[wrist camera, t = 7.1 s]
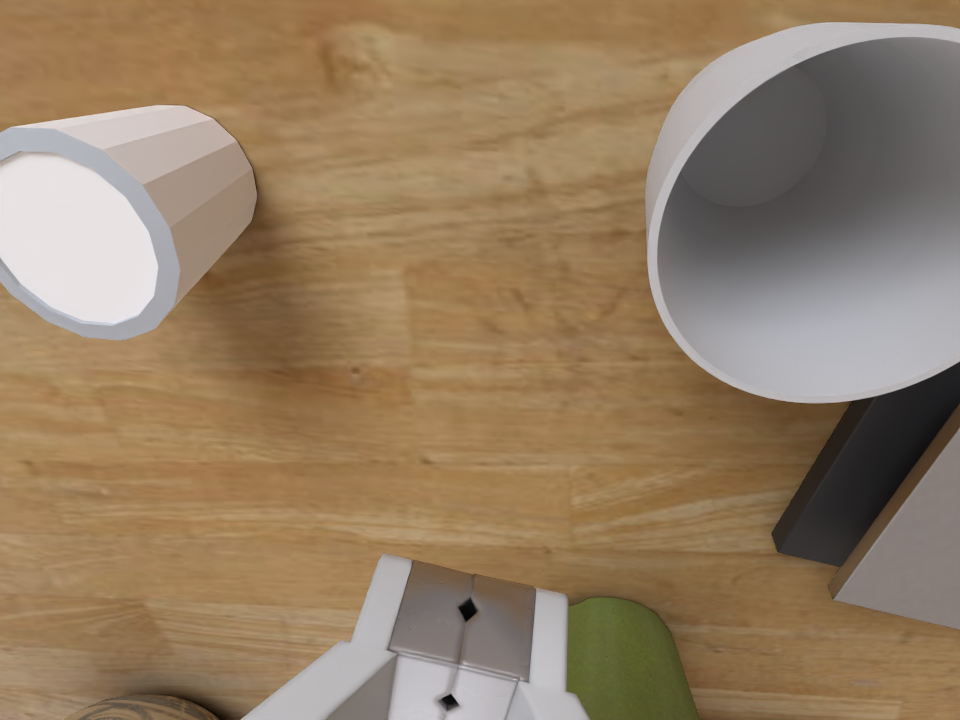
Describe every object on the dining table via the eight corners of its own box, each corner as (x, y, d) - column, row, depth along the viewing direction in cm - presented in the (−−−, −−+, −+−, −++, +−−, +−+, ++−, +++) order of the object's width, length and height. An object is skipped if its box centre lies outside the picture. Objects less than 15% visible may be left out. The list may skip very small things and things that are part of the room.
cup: (753, 288, 25) (840, 456, 16) (578, 170, 23) (573, 287, 15) (939, 96, 21) (1185, 188, 12) (739, -61, 19) (860, -80, 11)
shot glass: (233, 69, 23) (112, 106, 17) (296, 249, 27) (213, 331, 21) (72, 104, 25) (-90, 148, 19) (151, 270, 28) (35, 352, 22)
